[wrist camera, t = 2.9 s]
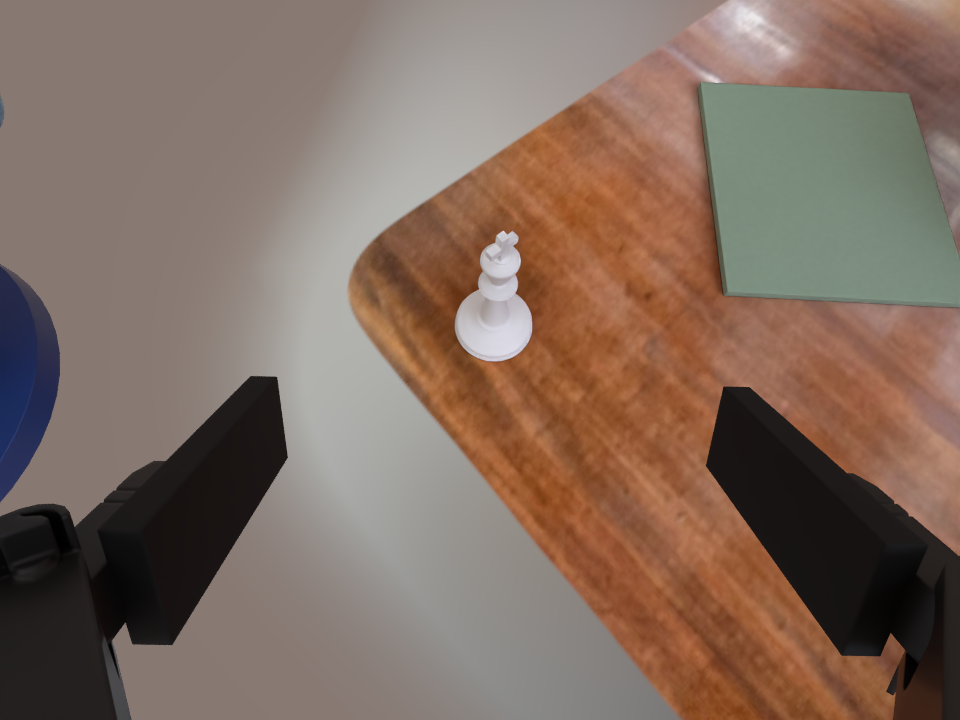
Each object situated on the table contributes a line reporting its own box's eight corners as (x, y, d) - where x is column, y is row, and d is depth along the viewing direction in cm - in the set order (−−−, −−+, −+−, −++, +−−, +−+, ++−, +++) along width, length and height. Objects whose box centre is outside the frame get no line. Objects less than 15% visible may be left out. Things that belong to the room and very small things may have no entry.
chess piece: (548, 329, 33) (578, 242, 24) (489, 377, 32) (498, 305, 23) (496, 277, 35) (507, 174, 25) (439, 321, 33) (426, 231, 24)
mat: (723, 295, 34) (727, 291, 34) (697, 88, 41) (700, 81, 40) (966, 308, 34) (974, 304, 34) (902, 99, 41) (909, 92, 40)
